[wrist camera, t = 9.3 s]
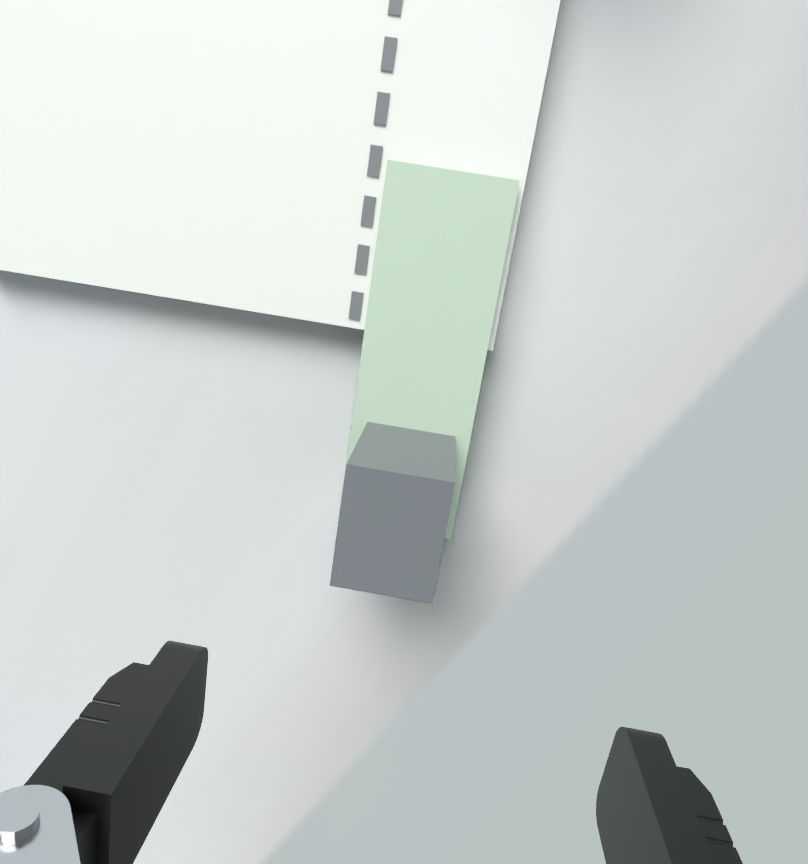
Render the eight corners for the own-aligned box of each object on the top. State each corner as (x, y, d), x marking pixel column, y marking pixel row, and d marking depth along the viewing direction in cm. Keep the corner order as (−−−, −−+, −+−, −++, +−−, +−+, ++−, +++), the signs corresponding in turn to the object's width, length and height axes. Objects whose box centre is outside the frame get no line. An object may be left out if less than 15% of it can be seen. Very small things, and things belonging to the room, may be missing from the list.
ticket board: (-18, -137, 27) (-46, -160, 25) (567, -51, 26) (574, -70, 25) (-9, 264, 31) (-32, 264, 30) (491, 346, 31) (492, 351, 29)
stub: (388, 161, 27) (368, 135, 21) (518, 181, 27) (537, 162, 21) (340, 514, 32) (312, 582, 25) (451, 534, 31) (450, 606, 25)
